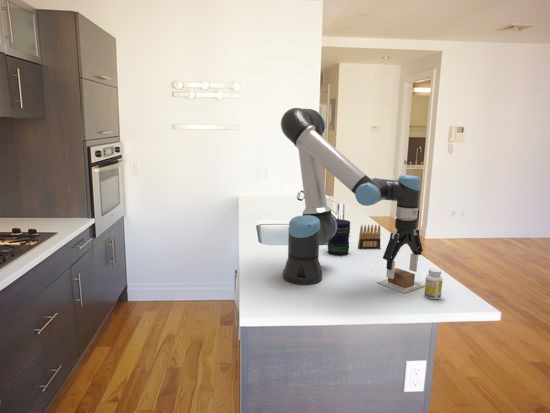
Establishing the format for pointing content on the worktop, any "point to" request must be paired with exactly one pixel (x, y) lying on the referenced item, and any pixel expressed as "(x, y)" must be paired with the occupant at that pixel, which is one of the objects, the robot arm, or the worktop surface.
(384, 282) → the mat
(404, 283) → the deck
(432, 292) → the supplement bottle
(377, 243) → the ammunition clip
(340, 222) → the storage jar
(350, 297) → the worktop surface
